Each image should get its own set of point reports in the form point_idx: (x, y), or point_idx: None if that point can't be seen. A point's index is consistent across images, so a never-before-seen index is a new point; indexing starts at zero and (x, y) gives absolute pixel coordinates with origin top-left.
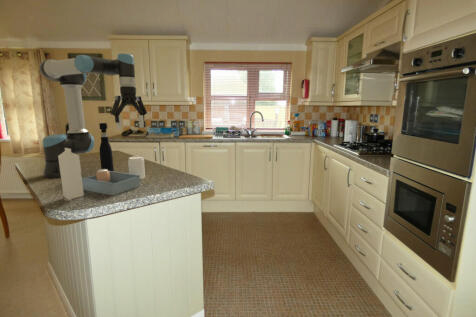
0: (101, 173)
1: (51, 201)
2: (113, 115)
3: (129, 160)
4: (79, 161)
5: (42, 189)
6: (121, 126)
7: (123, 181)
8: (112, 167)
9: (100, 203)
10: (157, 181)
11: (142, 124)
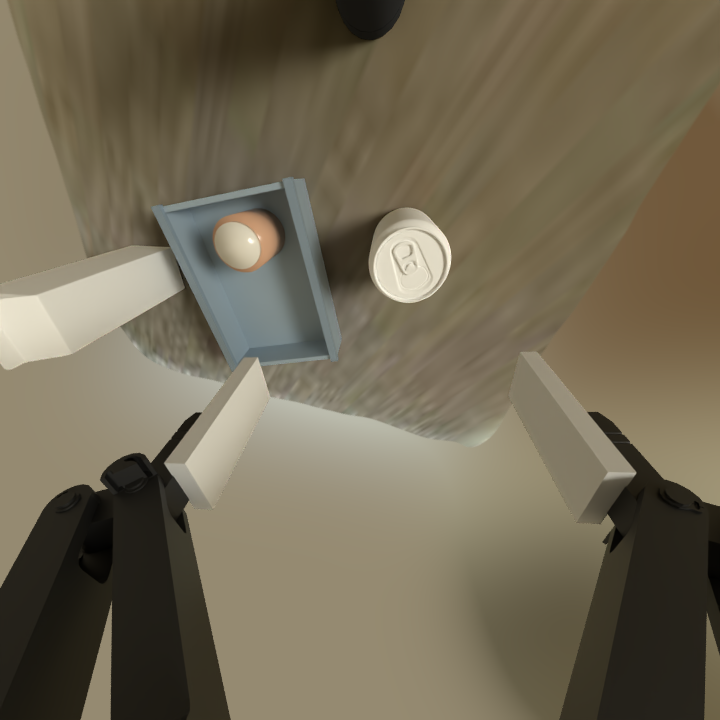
0: (229, 265)
1: (100, 248)
2: (120, 461)
3: (370, 263)
4: (94, 340)
5: (34, 11)
6: (260, 414)
7: (273, 364)
8: (386, 11)
9: (211, 365)
10: (416, 333)
11: (520, 417)
